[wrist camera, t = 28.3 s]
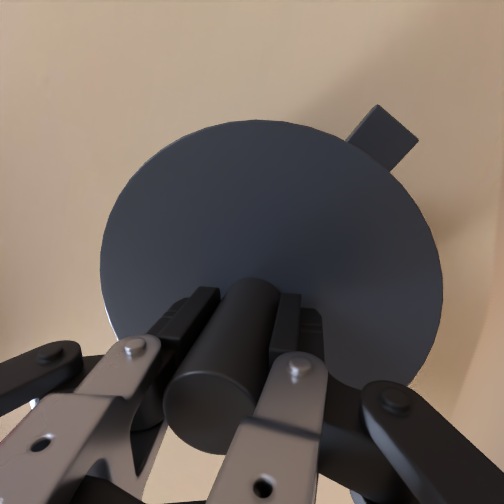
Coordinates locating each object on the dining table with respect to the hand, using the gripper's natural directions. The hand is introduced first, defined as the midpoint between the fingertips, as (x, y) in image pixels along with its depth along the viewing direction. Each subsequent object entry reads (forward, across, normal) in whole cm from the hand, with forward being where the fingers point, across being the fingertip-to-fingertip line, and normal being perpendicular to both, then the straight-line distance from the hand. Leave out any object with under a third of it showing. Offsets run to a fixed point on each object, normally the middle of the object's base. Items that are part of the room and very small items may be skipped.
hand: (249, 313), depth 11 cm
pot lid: (+1, 0, 0) cm, 1 cm away
